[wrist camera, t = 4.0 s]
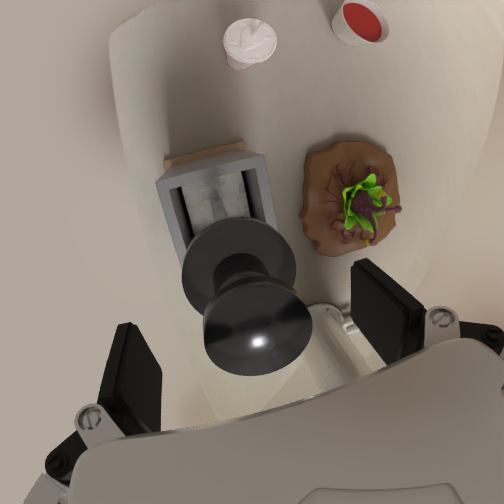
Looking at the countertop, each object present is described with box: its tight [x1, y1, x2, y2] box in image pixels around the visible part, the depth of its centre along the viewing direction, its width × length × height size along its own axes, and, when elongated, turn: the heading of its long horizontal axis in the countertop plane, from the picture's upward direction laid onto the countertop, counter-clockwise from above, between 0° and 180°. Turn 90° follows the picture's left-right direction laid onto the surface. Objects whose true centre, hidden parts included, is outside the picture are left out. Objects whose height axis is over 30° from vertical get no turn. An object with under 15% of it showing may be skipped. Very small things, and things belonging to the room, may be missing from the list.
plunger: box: [181, 171, 313, 376], centre depth 22 cm, size 7×7×24 cm
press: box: [155, 141, 278, 268], centre depth 34 cm, size 12×12×17 cm
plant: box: [299, 141, 402, 257], centre depth 41 cm, size 20×20×11 cm
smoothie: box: [223, 18, 277, 70], centre depth 28 cm, size 6×6×14 cm
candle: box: [331, 0, 390, 46], centre depth 31 cm, size 9×9×6 cm
